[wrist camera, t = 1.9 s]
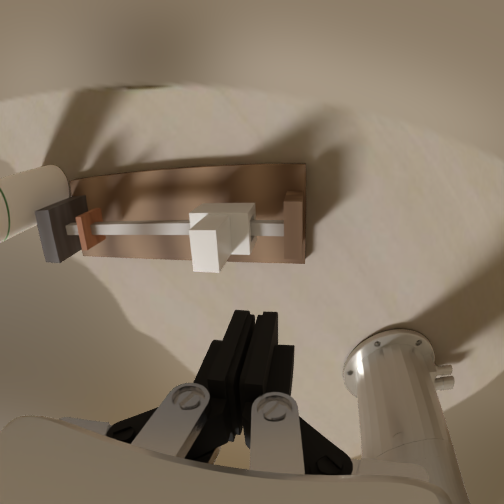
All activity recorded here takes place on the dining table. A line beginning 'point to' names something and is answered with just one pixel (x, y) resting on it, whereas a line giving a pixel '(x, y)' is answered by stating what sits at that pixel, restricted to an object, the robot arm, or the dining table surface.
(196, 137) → the dining table surface
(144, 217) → the rail
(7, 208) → the cylindrical container
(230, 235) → the sleeve
